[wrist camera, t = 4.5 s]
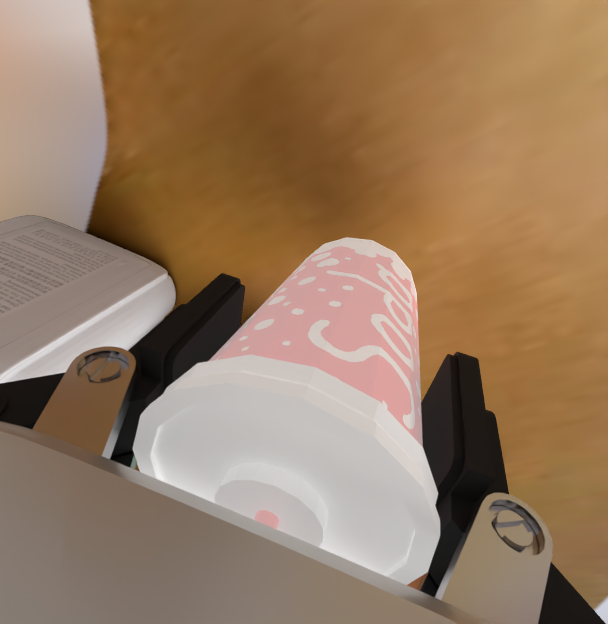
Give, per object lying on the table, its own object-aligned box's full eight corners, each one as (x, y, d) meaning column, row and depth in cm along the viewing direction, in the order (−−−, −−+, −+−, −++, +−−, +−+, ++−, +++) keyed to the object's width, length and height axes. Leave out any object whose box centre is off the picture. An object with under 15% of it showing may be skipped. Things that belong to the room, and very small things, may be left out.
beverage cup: (466, 331, 14) (588, 1392, 3) (328, 375, 17) (107, 970, 6) (390, 182, 12) (-210, 1489, 1) (250, 260, 15) (-304, 795, 4)
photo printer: (33, 267, 25) (-262, 386, 14) (25, 202, 22) (-331, 287, 12) (175, 326, 24) (-29, 504, 13) (182, 265, 21) (-58, 419, 11)
